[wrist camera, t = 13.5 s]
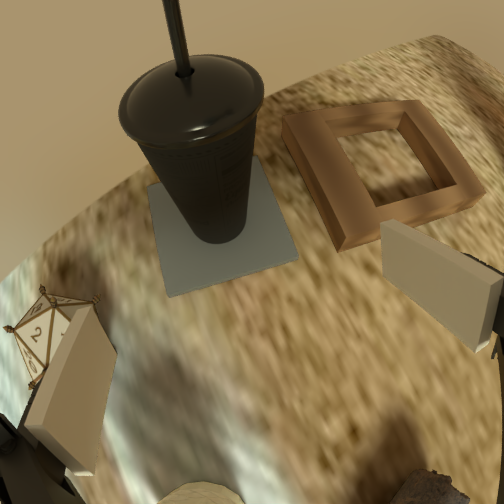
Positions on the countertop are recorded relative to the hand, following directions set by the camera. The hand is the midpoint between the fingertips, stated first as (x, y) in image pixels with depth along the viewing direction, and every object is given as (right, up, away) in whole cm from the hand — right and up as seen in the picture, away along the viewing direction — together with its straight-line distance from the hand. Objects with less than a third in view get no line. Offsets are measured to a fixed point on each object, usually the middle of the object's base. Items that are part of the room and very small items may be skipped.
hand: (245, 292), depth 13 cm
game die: (-14, -7, +10) cm, 19 cm away
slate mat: (-3, +4, +15) cm, 15 cm away
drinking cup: (-3, +4, +14) cm, 15 cm away
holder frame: (+14, +10, +17) cm, 24 cm away
